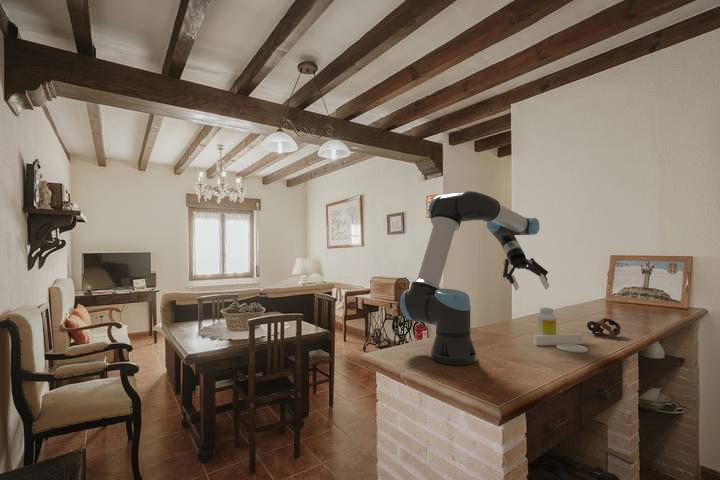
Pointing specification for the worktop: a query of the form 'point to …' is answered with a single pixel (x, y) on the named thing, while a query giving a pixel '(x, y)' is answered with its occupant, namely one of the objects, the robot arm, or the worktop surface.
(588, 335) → the worktop surface
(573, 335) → the rail
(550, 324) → the supplement bottle
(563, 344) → the coaster
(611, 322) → the brown openwork ring sculpture
